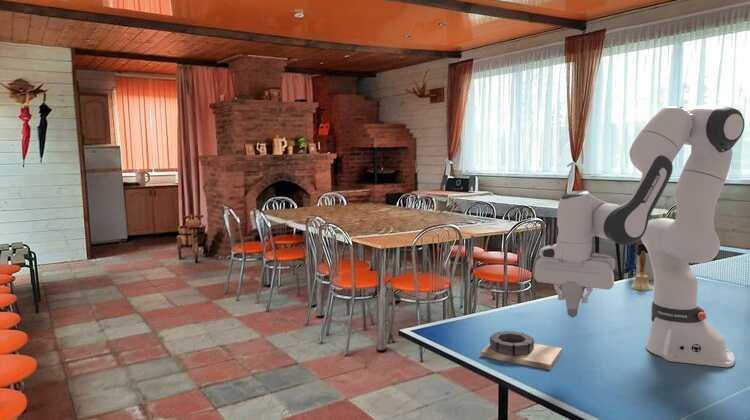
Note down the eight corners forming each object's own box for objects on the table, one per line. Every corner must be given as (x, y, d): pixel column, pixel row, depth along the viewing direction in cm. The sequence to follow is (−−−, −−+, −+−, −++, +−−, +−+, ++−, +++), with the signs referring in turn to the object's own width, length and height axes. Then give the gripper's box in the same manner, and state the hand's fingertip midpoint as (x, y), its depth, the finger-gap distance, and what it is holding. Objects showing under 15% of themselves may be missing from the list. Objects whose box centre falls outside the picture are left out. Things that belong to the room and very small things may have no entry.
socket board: (561, 352, 160) (562, 338, 160) (550, 369, 148) (550, 354, 148) (496, 341, 171) (496, 327, 170) (480, 356, 159) (481, 341, 158)
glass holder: (638, 279, 244) (639, 247, 242) (628, 272, 257) (630, 241, 256) (659, 280, 242) (660, 247, 240) (648, 273, 256) (649, 241, 254)
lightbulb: (572, 321, 143) (573, 281, 142) (555, 316, 149) (556, 276, 148) (589, 318, 146) (589, 278, 145) (571, 312, 152) (572, 274, 151)
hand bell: (628, 285, 234) (629, 249, 232) (648, 285, 233) (649, 249, 231) (634, 290, 226) (635, 253, 224) (655, 291, 225) (657, 253, 223)
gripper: (617, 252, 143) (615, 303, 144) (539, 246, 153) (538, 293, 155) (613, 256, 138) (612, 309, 139) (533, 250, 148) (532, 299, 150)
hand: (572, 301), depth 147 cm, fingers closed on lightbulb, 5 cm apart
